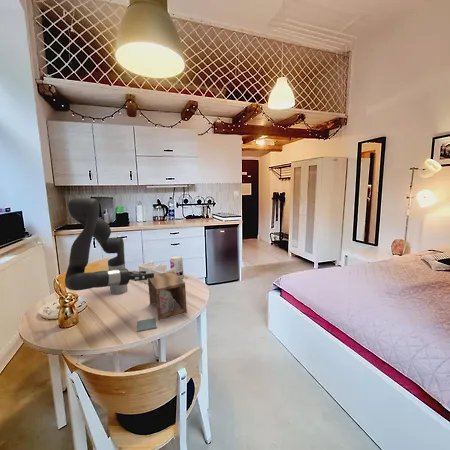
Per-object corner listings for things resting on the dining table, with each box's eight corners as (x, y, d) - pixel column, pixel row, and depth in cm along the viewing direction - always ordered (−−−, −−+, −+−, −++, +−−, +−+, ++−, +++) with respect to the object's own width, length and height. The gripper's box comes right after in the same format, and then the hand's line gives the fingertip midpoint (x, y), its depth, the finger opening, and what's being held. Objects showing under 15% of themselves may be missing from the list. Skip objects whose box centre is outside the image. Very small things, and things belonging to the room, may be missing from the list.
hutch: (158, 320, 121) (156, 289, 118) (150, 303, 138) (147, 276, 135) (186, 312, 127) (185, 282, 125) (175, 297, 144) (173, 271, 142)
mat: (136, 332, 112) (136, 330, 112) (137, 322, 120) (137, 321, 120) (156, 328, 114) (156, 327, 114) (155, 318, 122) (155, 317, 122)
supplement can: (173, 281, 168) (171, 259, 165) (169, 277, 175) (168, 256, 172) (185, 279, 171) (183, 257, 169) (181, 275, 179) (180, 254, 176)
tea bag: (164, 305, 136) (162, 287, 134) (173, 308, 132) (172, 290, 130) (159, 308, 132) (157, 290, 131) (168, 311, 129) (167, 293, 127)
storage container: (139, 280, 171) (138, 265, 169) (153, 275, 179) (152, 260, 178) (162, 290, 155) (161, 272, 153) (176, 284, 164) (175, 267, 162)
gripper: (123, 271, 112) (156, 268, 123) (111, 267, 122) (143, 265, 133) (122, 288, 112) (156, 284, 123) (110, 283, 122) (142, 279, 133)
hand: (149, 274), depth 128 cm, fingers open, 8 cm apart
